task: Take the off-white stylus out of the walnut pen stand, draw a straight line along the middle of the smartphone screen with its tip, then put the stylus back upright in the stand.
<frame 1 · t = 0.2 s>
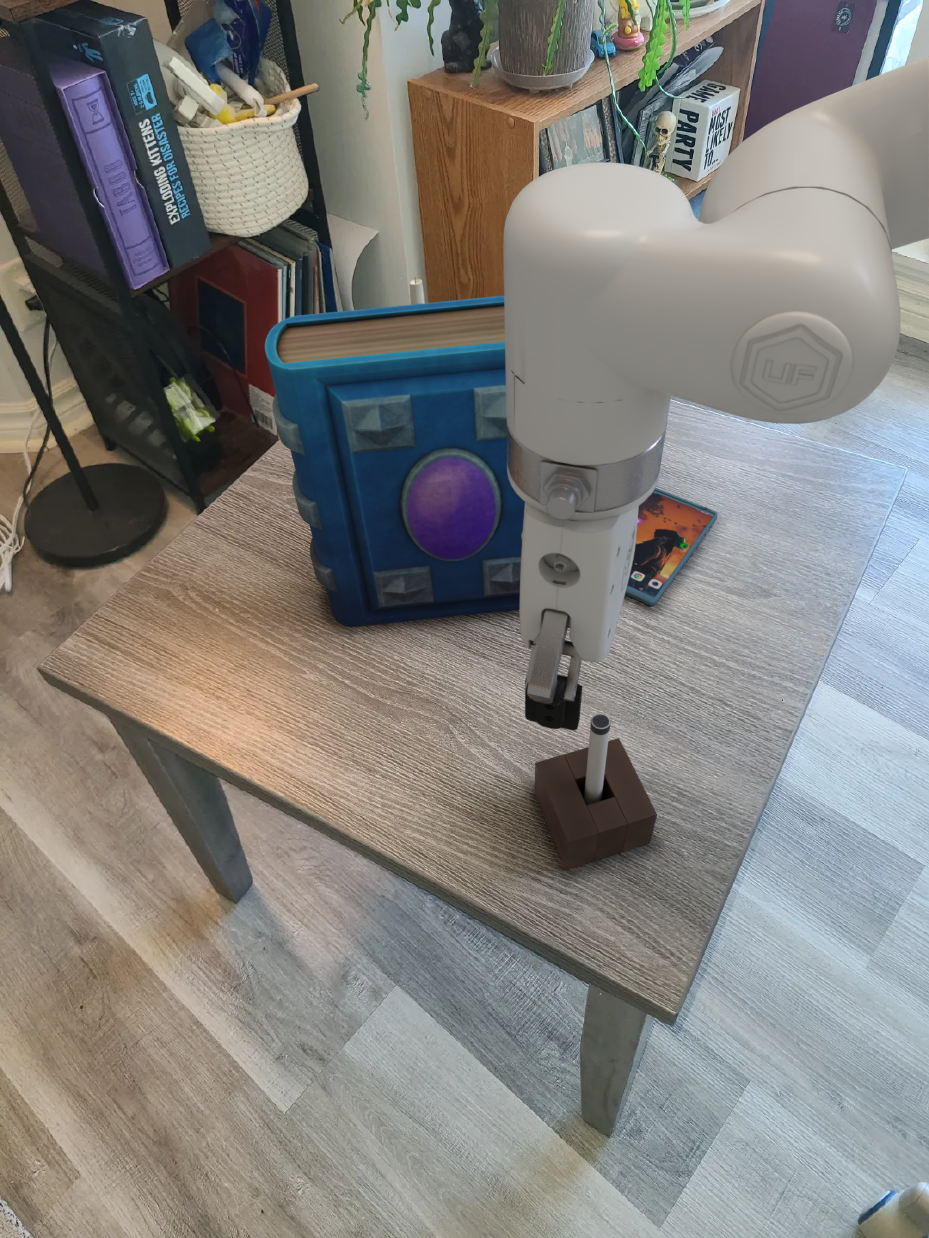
hand: (570, 659, 57), 23 cm above the table, tool pointing down, fingers open, 9 cm apart
potted plant: (584, 470, 103), on the table
smartphone: (651, 548, 95), on the table
book: (440, 597, 92), on the table
pen stand: (591, 817, 75), on the table
candle: (426, 392, 114), on the table
stylus: (590, 816, 75), resting in pen stand
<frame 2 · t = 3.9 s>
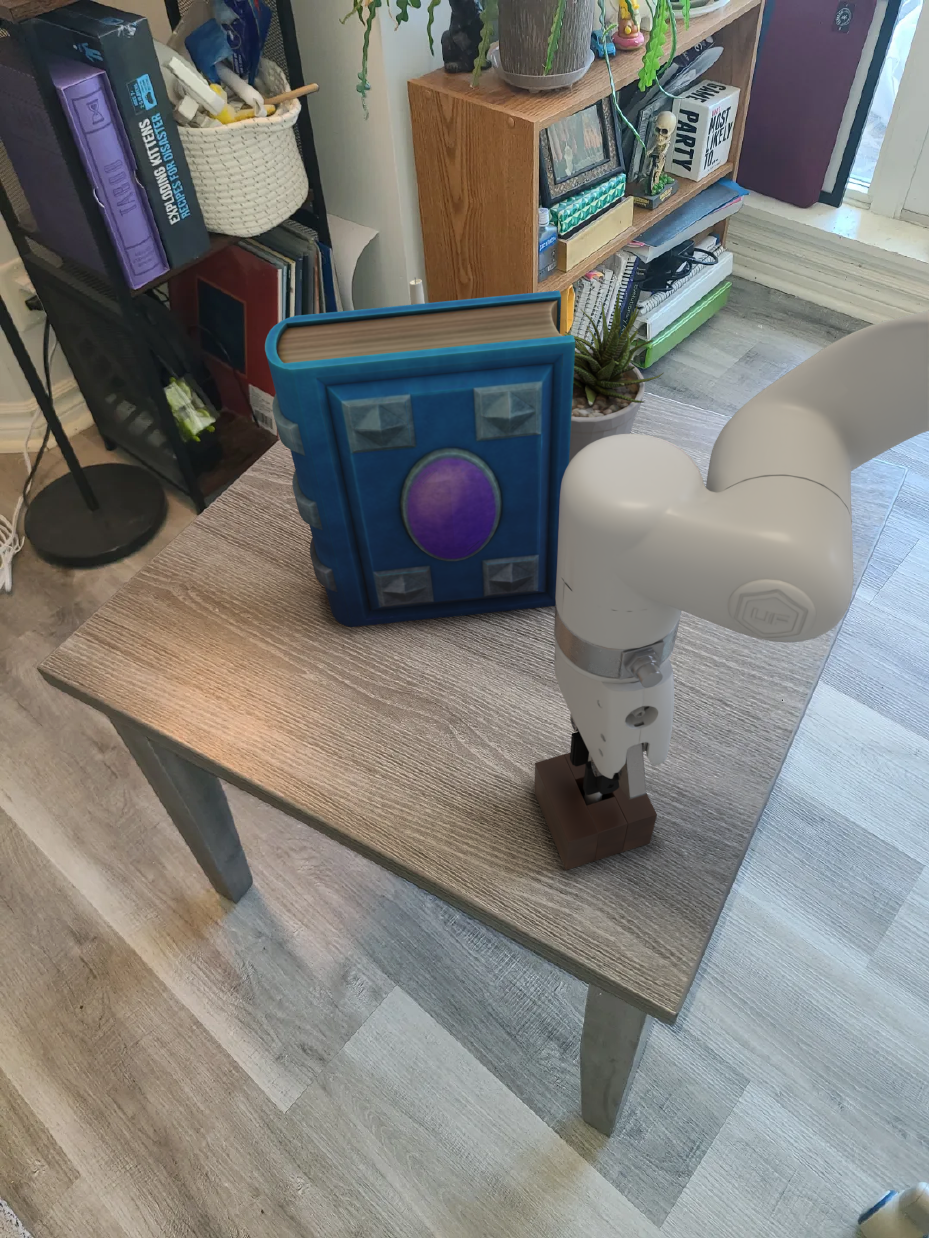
hand: (596, 771, 69), 8 cm above the table, tool pointing down, fingers closed
stylus: (590, 816, 75), resting in pen stand, touching gripper
everything else where it was.
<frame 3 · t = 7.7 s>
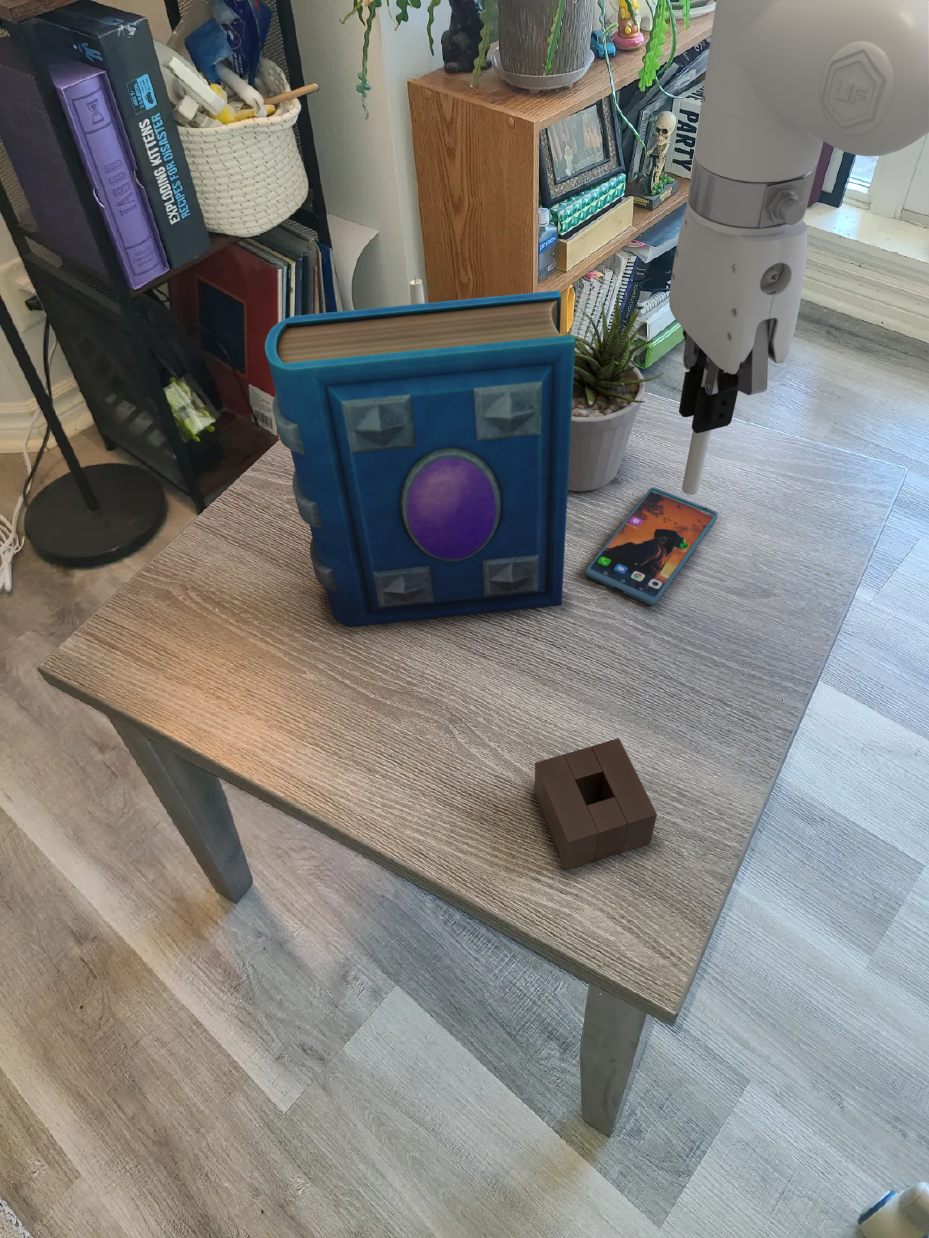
hand: (704, 418, 71), 23 cm above the table, tool pointing down, fingers closed on stylus, 1 cm apart
stylus: (690, 489, 77), point 16 cm above the table, touching gripper
everything else where it was.
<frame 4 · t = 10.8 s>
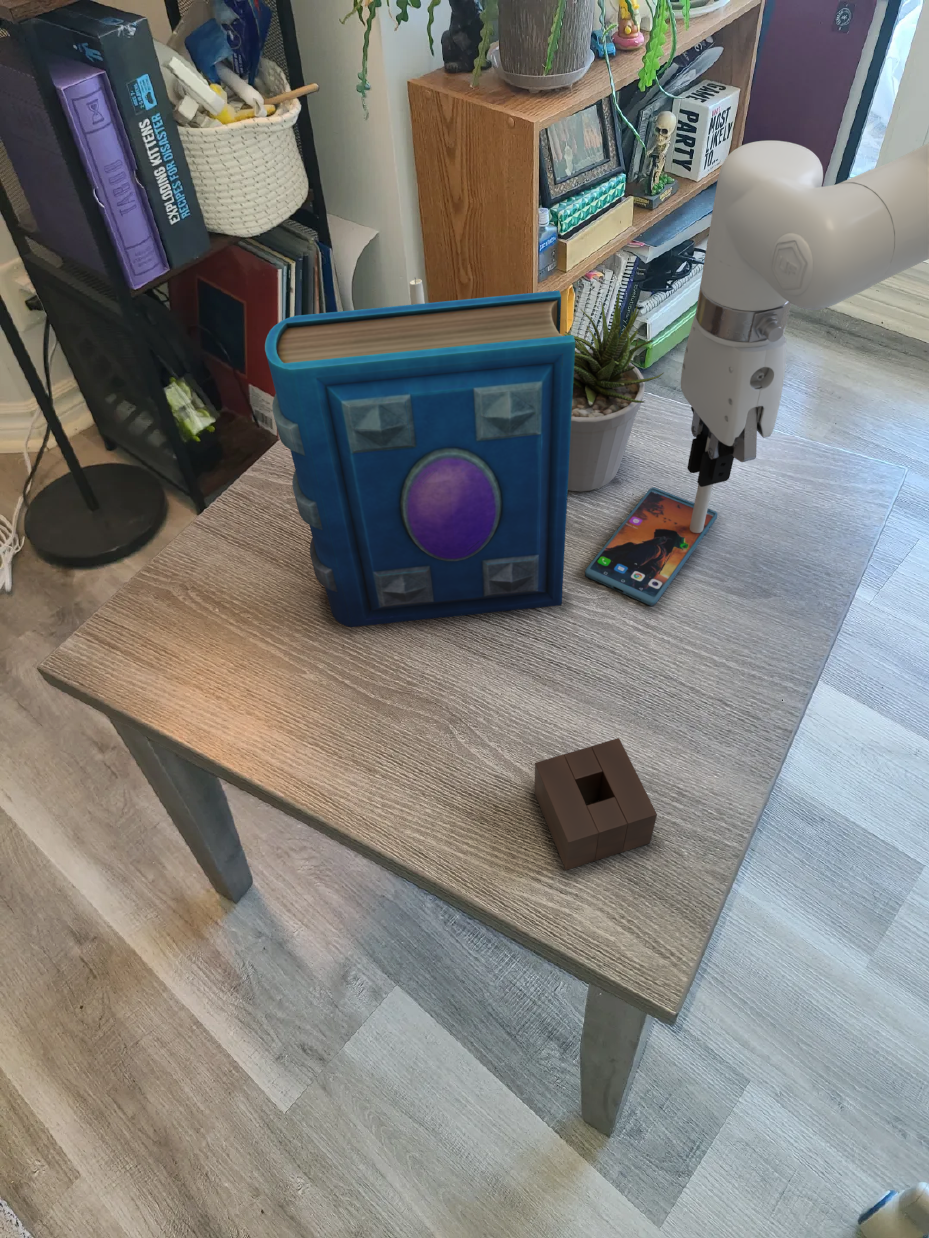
hand: (707, 474, 89), 9 cm above the table, tool pointing down, fingers closed on stylus, 1 cm apart
smartphone: (651, 548, 95), on the table, touching stylus
stylus: (696, 528, 94), point 1 cm above the table, touching gripper, smartphone
everything else where it was.
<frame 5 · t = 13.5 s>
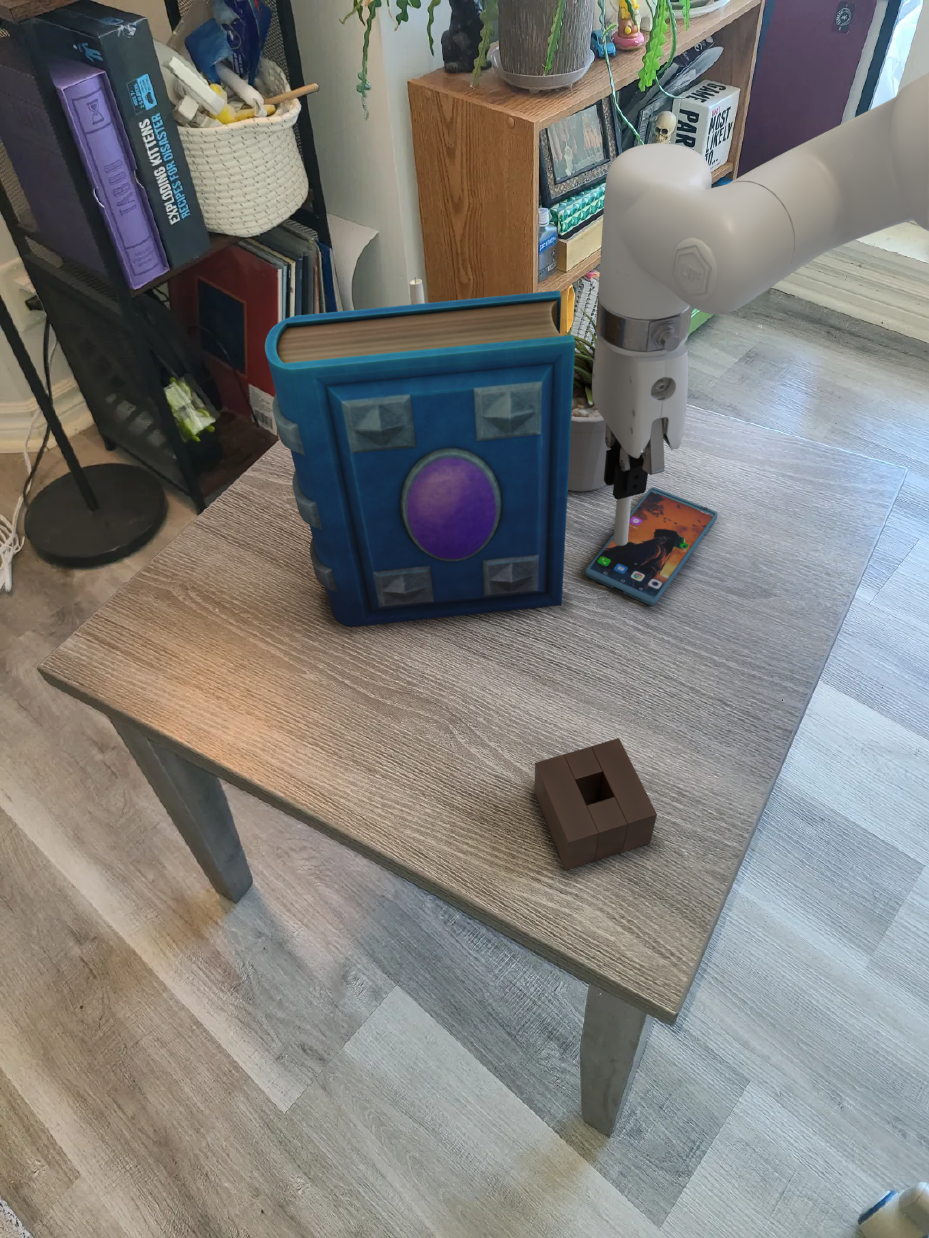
hand: (624, 486, 86), 10 cm above the table, tool pointing down, fingers closed on stylus, 1 cm apart
smartphone: (651, 548, 95), on the table
stylus: (620, 541, 92), point 2 cm above the table, touching gripper
everything else where it was.
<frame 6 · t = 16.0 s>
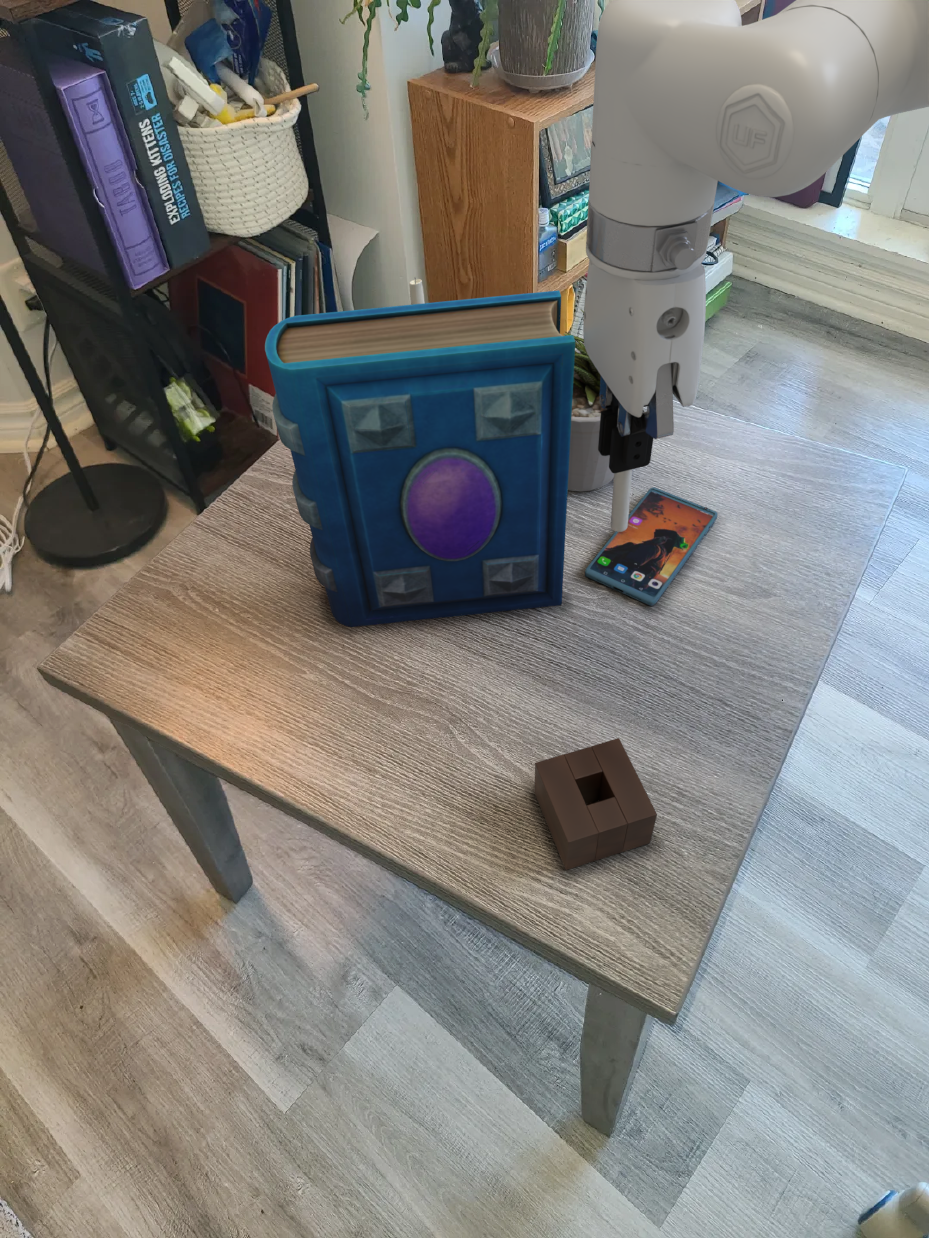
hand: (623, 457, 69), 23 cm above the table, tool pointing down, fingers closed on stylus, 1 cm apart
stylus: (619, 526, 75), point 15 cm above the table, touching gripper
everything else where it was.
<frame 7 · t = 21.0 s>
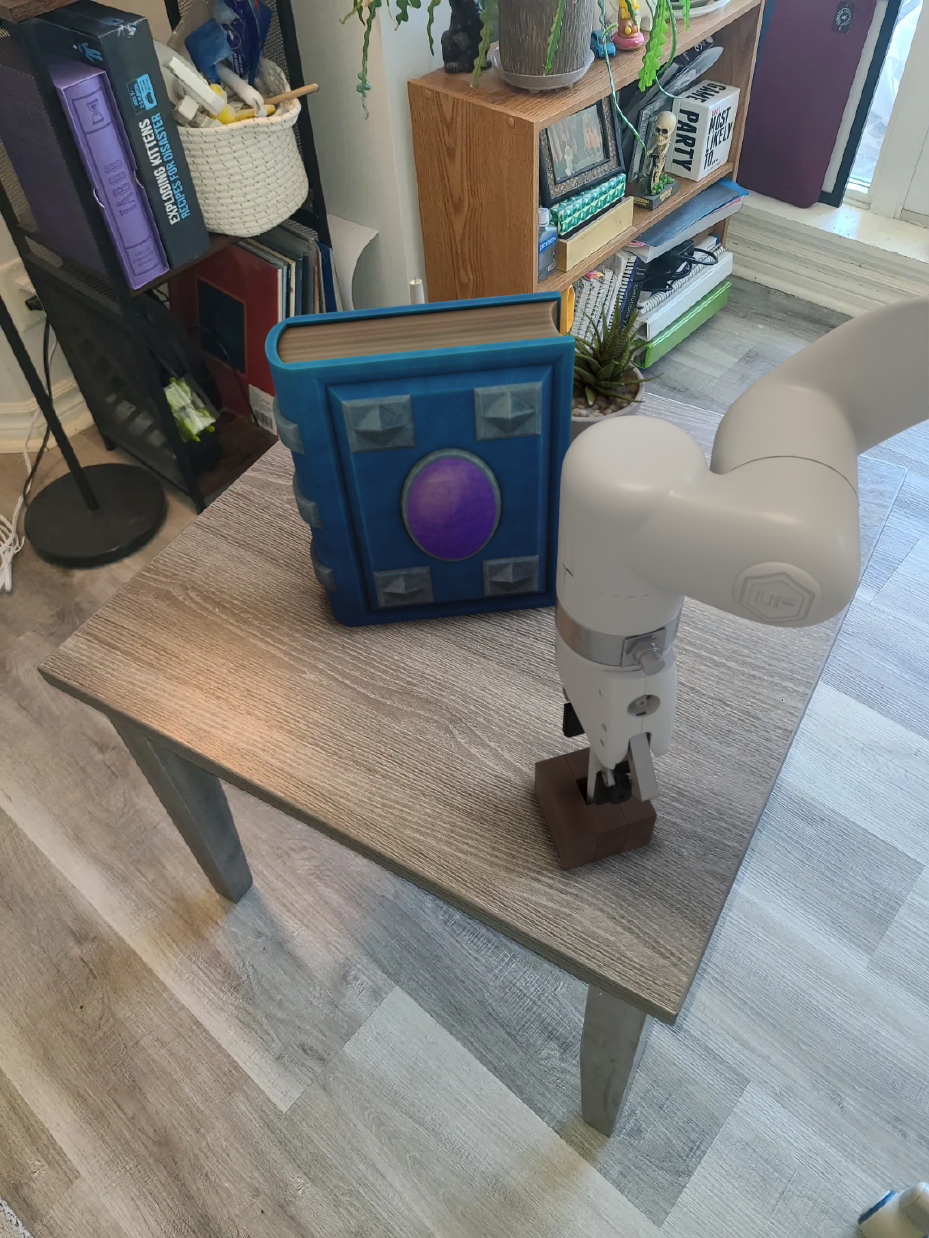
hand: (598, 761, 68), 9 cm above the table, tool pointing down, fingers open, 5 cm apart
stylus: (593, 816, 75), resting in pen stand
everything else where it was.
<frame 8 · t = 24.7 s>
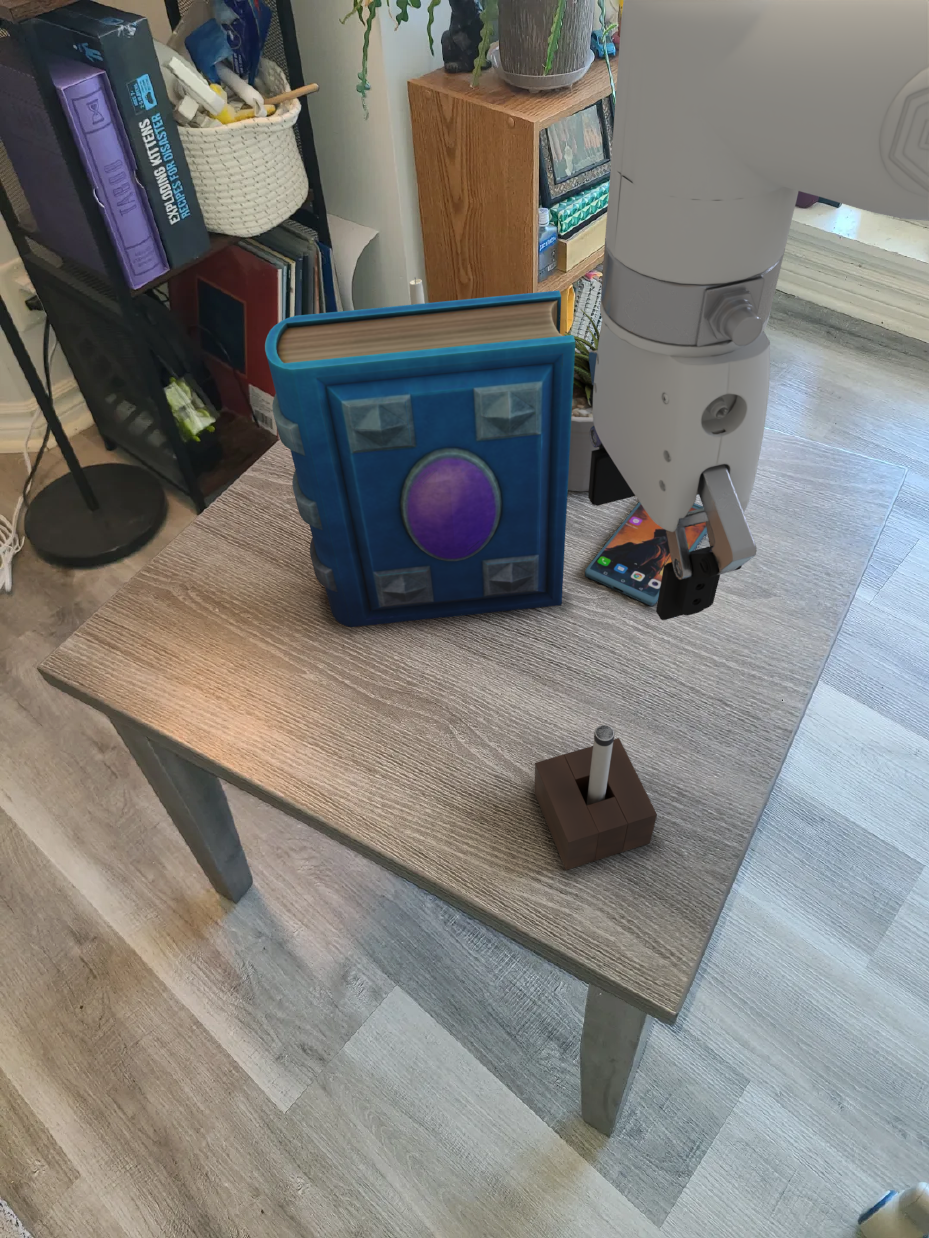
hand: (646, 550, 53), 30 cm above the table, tool pointing down, fingers open, 9 cm apart
nothing on the table moved.
at the end: stylus 0.2 cm off-centre in the pen stand, point 0.0 cm above the pen stand's base; stylus tilted 0°; smartphone moved 0.2 cm from its start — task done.
